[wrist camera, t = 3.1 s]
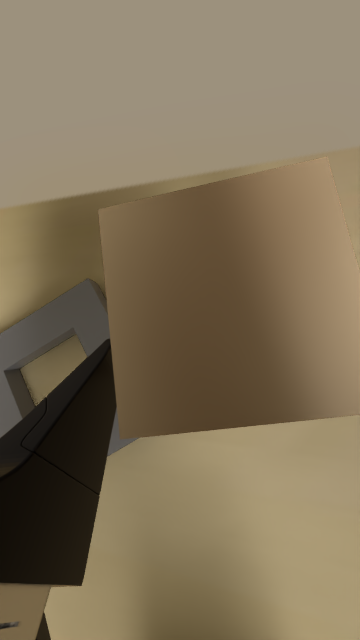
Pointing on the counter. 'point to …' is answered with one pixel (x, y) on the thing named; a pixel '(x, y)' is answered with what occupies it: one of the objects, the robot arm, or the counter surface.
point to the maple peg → (233, 304)
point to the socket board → (44, 334)
